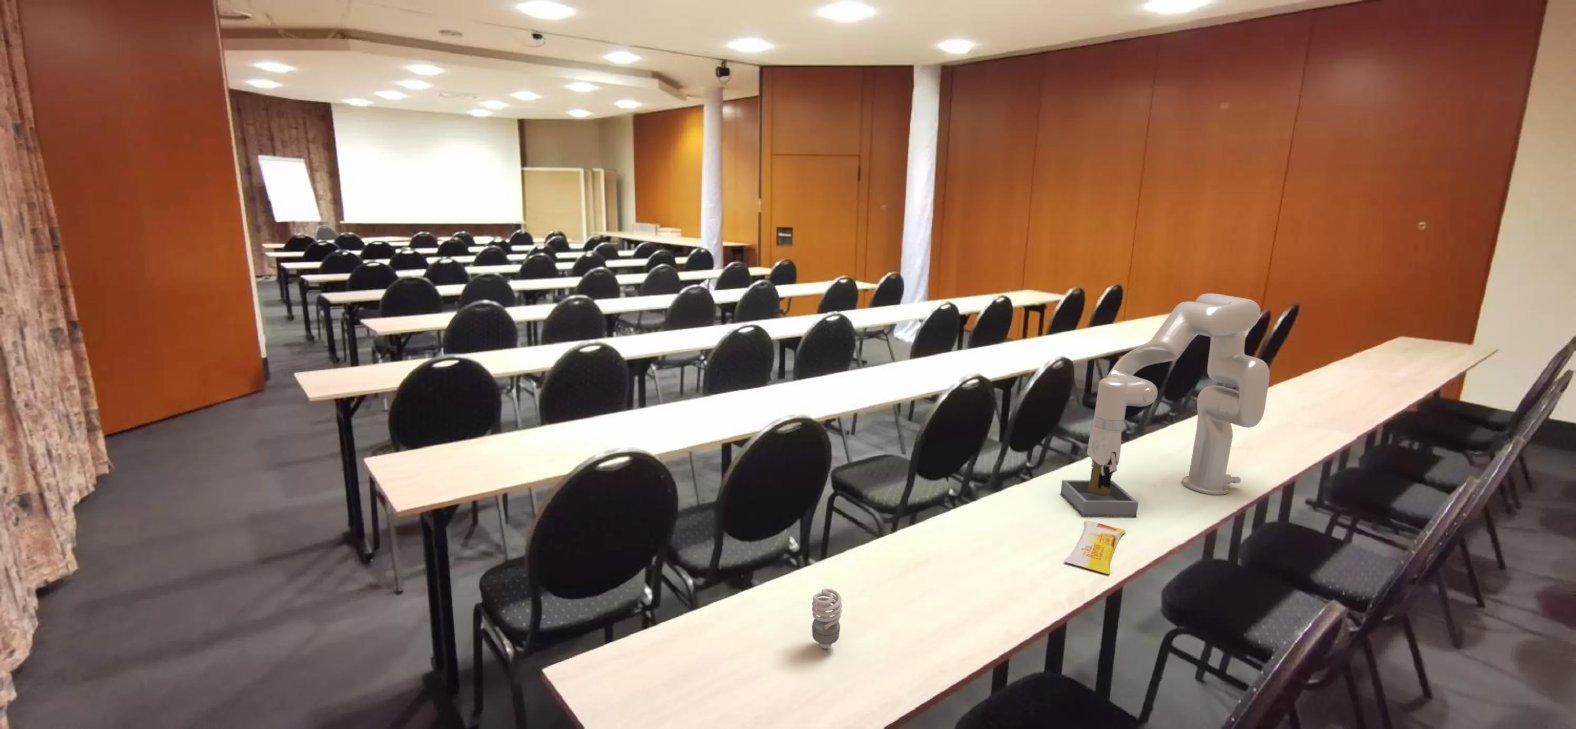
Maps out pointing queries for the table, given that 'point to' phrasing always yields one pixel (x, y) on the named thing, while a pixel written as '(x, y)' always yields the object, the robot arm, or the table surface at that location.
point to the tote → (1098, 500)
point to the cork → (1094, 482)
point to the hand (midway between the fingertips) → (1099, 484)
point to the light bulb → (826, 617)
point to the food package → (1095, 547)
